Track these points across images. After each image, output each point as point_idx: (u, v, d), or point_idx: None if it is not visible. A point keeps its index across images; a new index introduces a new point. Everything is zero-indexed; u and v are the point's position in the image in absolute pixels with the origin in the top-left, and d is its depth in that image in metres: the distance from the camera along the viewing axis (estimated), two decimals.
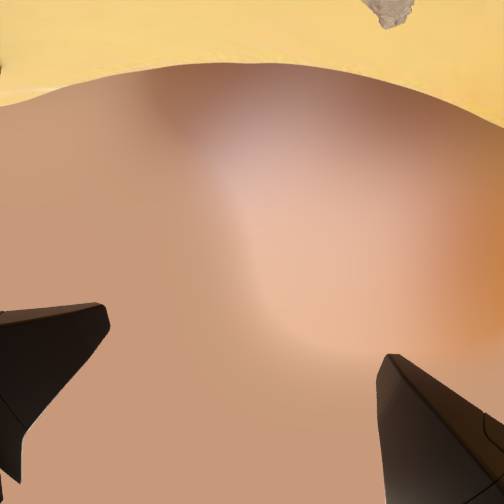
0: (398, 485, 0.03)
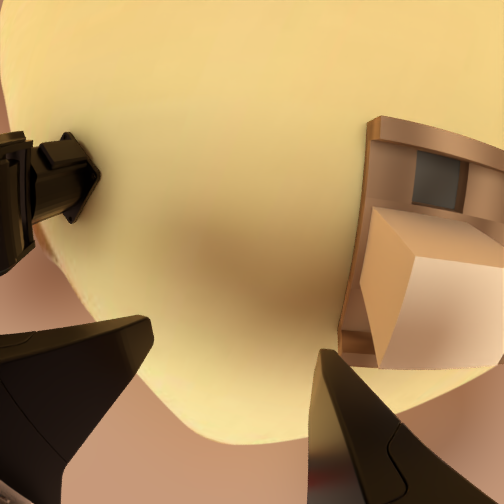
0: (313, 487, 0.04)
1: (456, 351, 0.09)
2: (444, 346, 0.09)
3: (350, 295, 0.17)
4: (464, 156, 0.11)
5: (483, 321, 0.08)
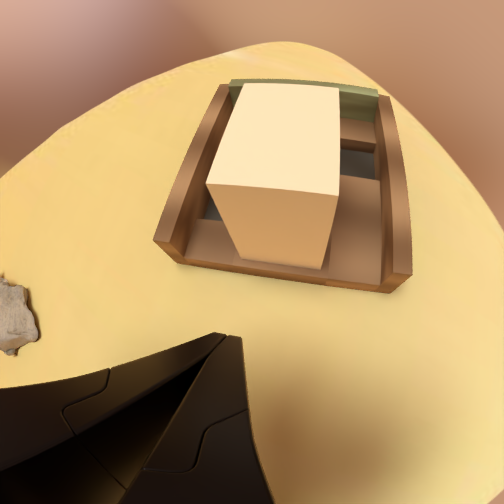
0: None
1: (315, 127, 0.11)
2: (307, 139, 0.11)
3: (336, 278, 0.16)
4: (192, 173, 0.18)
5: (282, 113, 0.11)
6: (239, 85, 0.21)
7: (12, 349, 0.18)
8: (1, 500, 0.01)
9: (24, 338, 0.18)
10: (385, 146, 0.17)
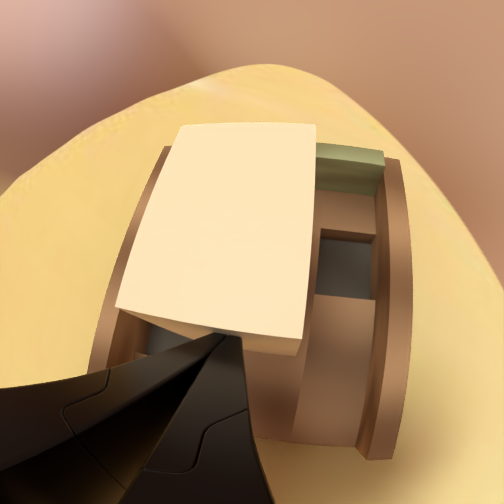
0: None
1: (275, 203, 0.08)
2: (260, 228, 0.07)
3: (300, 442, 0.11)
4: None
5: (226, 178, 0.08)
6: None
7: None
8: (1, 500, 0.01)
9: None
10: (389, 260, 0.12)
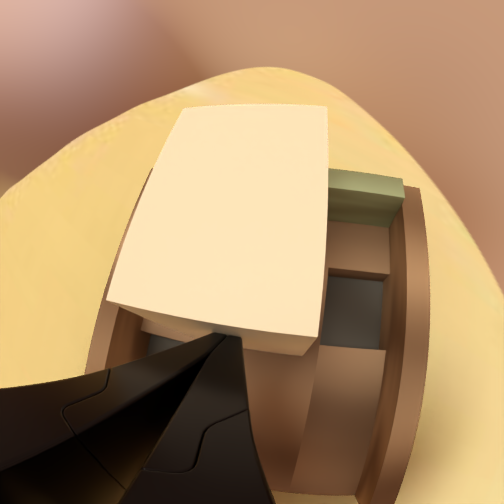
0: None
1: (285, 185, 0.07)
2: (269, 213, 0.06)
3: (299, 492, 0.09)
4: (105, 358, 0.11)
5: (231, 160, 0.07)
6: None
7: None
8: (1, 500, 0.01)
9: None
10: (405, 313, 0.10)
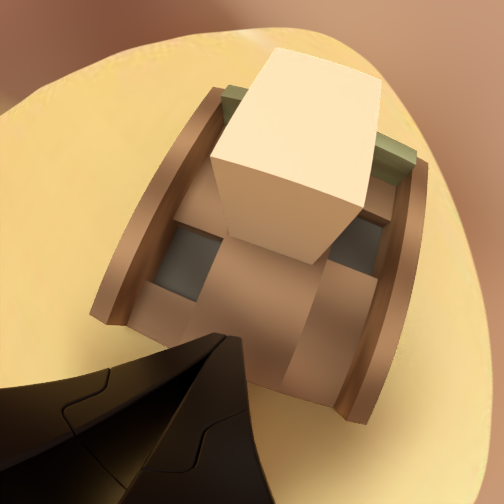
0: None
1: (350, 118, 0.09)
2: (340, 130, 0.09)
3: (287, 393, 0.14)
4: (142, 233, 0.14)
5: (315, 92, 0.09)
6: (235, 97, 0.15)
7: None
8: (1, 500, 0.01)
9: None
10: (401, 247, 0.13)
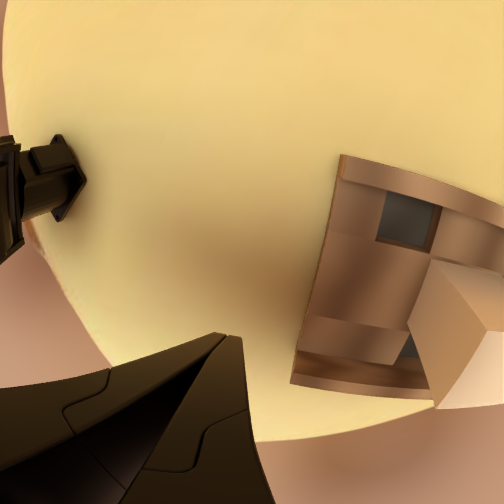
0: None
1: (490, 393, 0.09)
2: (484, 390, 0.09)
3: (307, 320, 0.19)
4: (433, 201, 0.12)
5: None
6: None
7: None
8: (1, 500, 0.01)
9: None
10: (412, 387, 0.16)
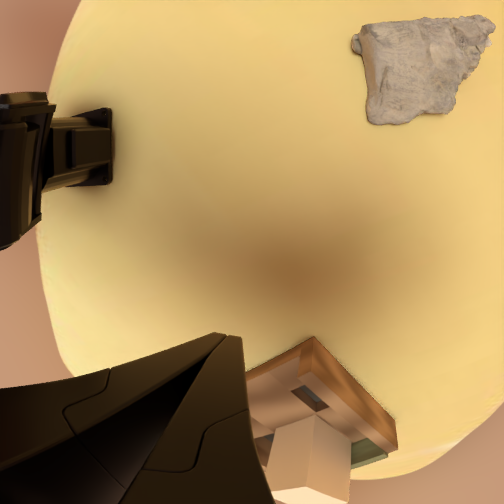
0: None
1: (293, 501, 0.17)
2: (290, 499, 0.17)
3: None
4: (336, 410, 0.18)
5: (311, 501, 0.17)
6: (375, 457, 0.20)
7: (360, 51, 0.13)
8: (1, 500, 0.01)
9: (373, 92, 0.13)
10: None
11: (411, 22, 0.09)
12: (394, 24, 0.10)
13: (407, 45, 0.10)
